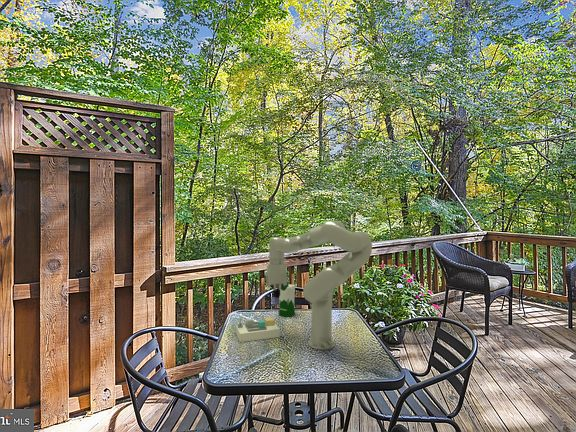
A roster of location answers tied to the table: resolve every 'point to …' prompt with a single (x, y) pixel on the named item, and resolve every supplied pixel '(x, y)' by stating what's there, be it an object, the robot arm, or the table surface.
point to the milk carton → (287, 301)
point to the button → (269, 321)
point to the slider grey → (249, 322)
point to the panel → (256, 332)
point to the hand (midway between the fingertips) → (276, 297)
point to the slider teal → (261, 324)
